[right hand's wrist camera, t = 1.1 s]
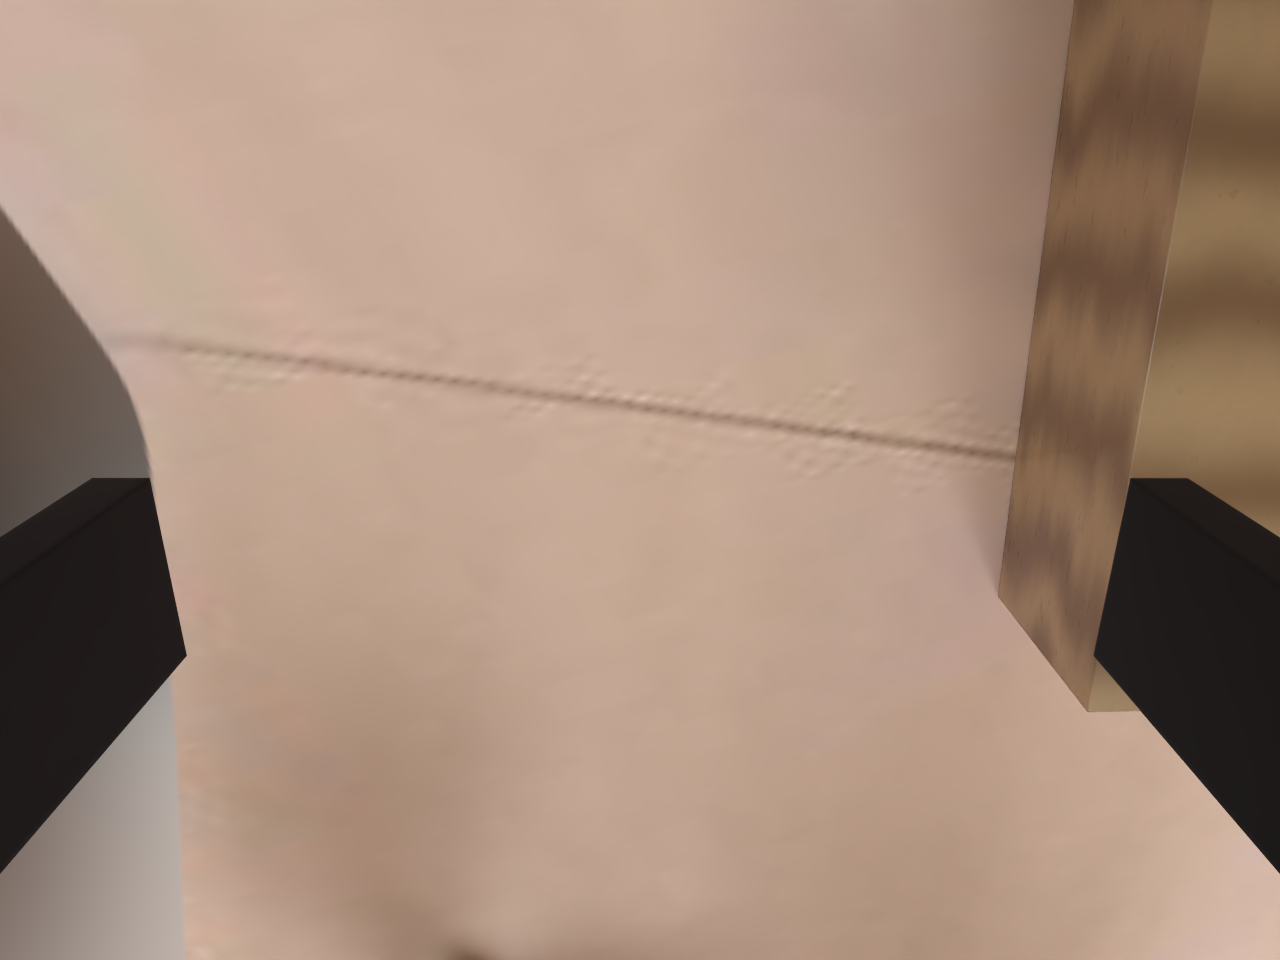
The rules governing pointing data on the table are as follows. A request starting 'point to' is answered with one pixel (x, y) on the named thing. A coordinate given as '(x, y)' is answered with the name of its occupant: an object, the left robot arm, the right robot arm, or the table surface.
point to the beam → (1148, 304)
